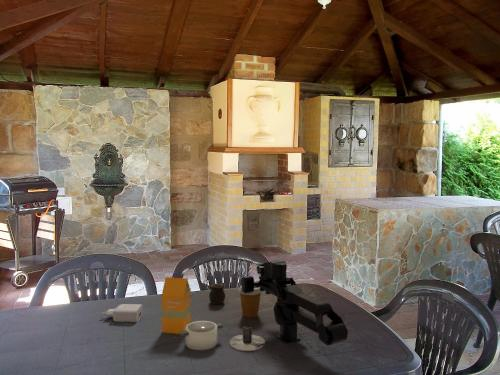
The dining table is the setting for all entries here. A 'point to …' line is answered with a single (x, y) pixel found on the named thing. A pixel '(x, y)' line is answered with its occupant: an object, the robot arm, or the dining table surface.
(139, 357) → the dining table surface
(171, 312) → the orange juice
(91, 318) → the dining table surface
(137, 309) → the charger
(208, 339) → the pot
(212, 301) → the mate gourd
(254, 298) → the disposable coffee cup
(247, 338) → the lid
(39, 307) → the dining table surface
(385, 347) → the dining table surface
